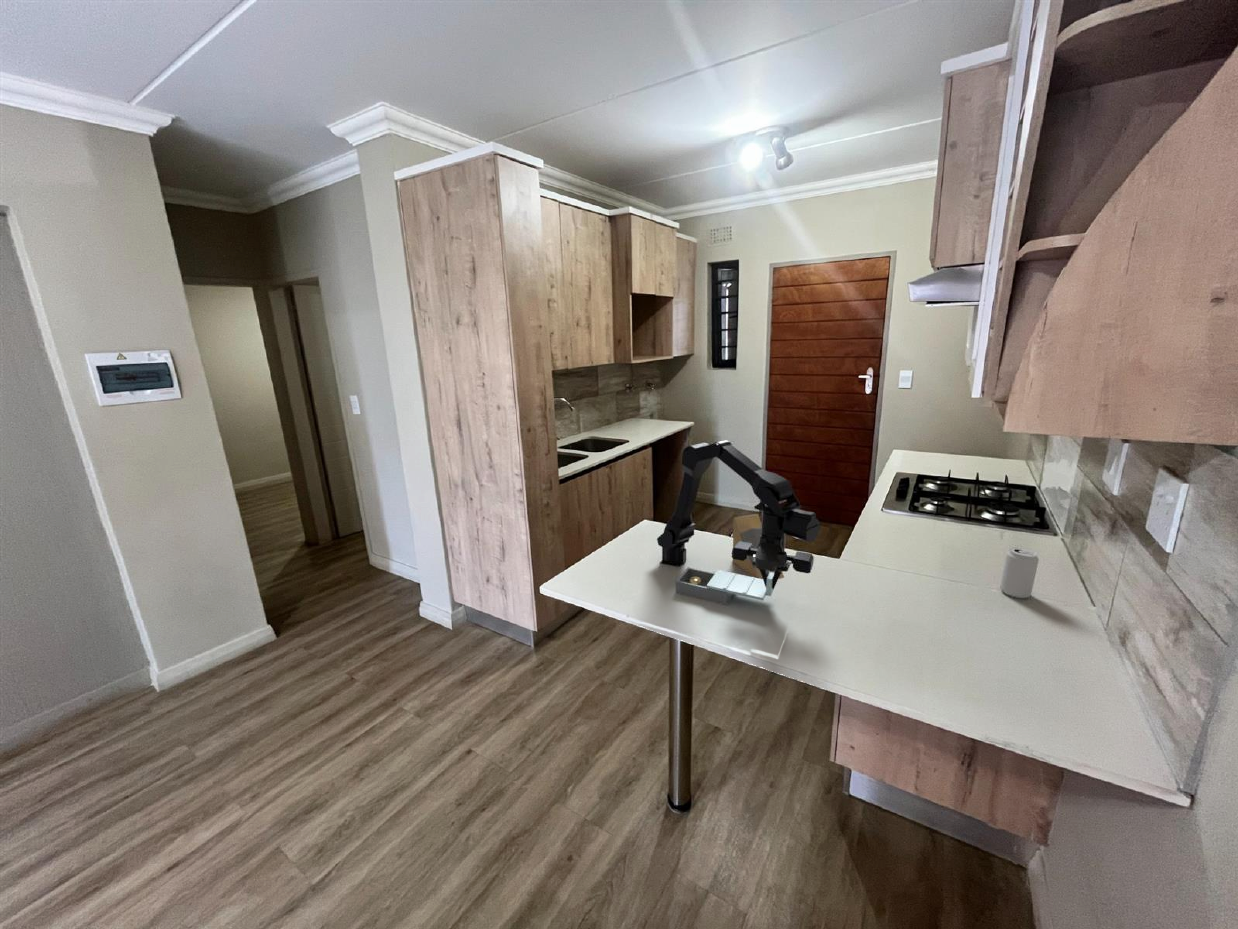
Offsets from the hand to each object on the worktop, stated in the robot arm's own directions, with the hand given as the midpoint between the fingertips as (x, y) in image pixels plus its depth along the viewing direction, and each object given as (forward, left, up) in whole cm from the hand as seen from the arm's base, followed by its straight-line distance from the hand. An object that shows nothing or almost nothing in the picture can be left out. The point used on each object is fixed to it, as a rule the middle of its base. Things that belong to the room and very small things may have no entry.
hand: (770, 587), depth 121 cm
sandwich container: (-7, +19, -6) cm, 21 cm away
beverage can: (+55, +35, -6) cm, 66 cm away
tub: (-17, 0, -6) cm, 18 cm away
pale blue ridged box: (-7, 0, -1) cm, 7 cm away
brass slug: (-20, -1, -5) cm, 20 cm away
